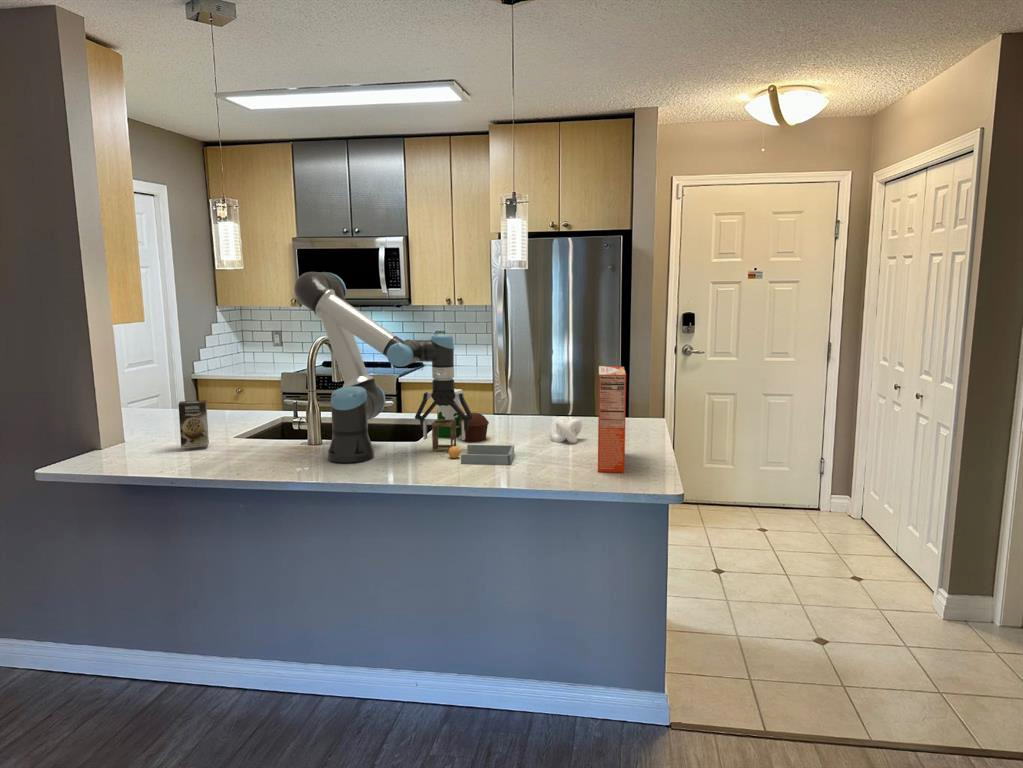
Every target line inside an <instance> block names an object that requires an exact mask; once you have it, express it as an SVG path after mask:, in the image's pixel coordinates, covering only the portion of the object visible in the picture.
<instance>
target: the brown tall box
mask: <svg viewBox="0 0 1023 768" xmlns="http://www.w3.org/2000/svg"><path fill="white" fill-rule="evenodd" d="M178 416H179V417H178V418H179V420H178V421H179V432H180V433H179V434H180V435H179V437H180V448H181V449H185V448H186V449H187V448H197V447H208V446H209V444H210V443H209V442H210V441H209V424H208V407H207V400H189V401H186V400H185V401H179V402H178Z"/></svg>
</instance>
